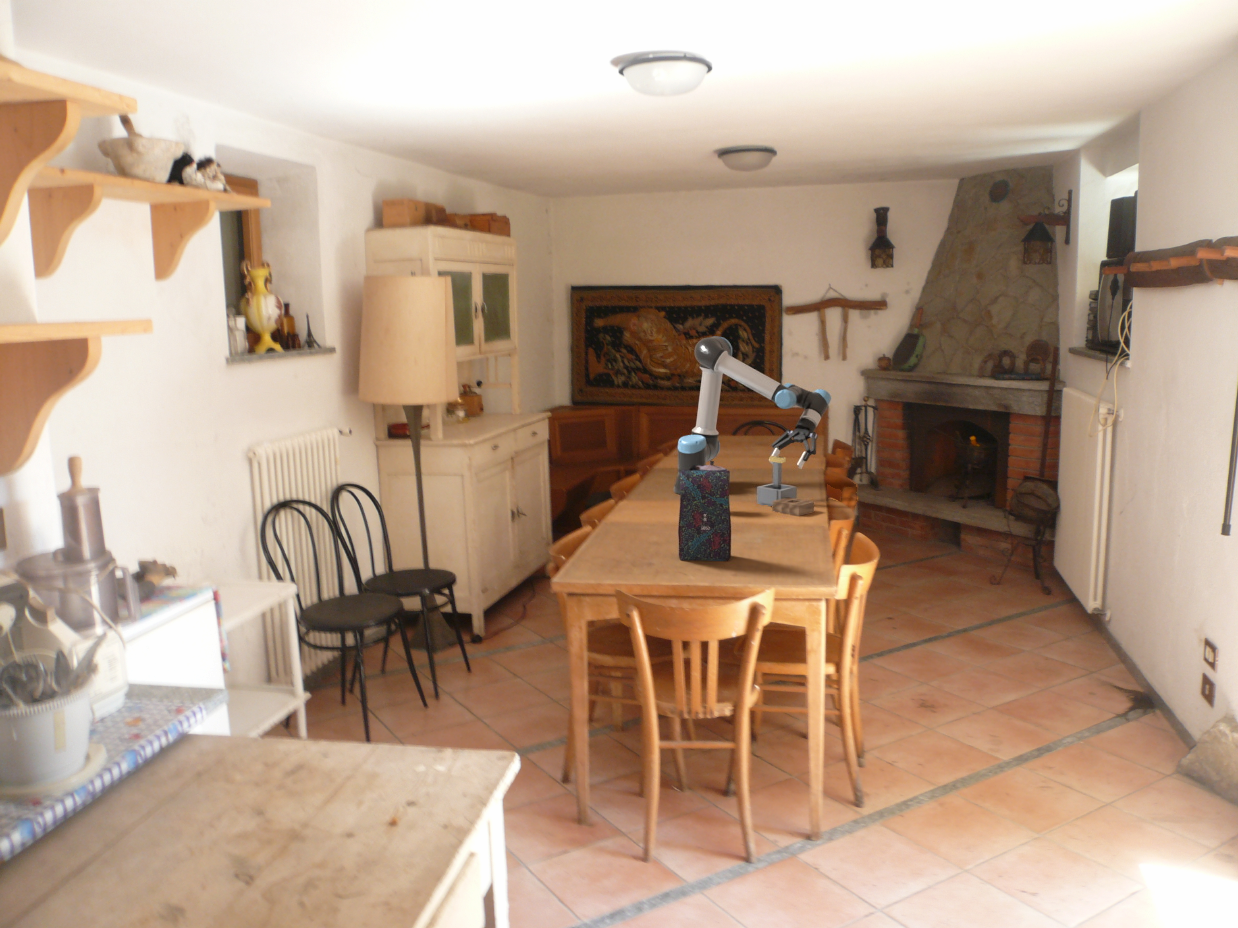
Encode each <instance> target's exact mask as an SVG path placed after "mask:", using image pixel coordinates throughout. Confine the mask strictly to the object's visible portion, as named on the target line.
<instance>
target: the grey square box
mask: <svg viewBox="0 0 1238 928" xmlns="http://www.w3.org/2000/svg"><path fill="white" fill-rule="evenodd" d="M797 489H798V487H797V486H794V485H789V484H784V483H783V484H782V483H781V489H780V490H778V489H773V482H772V483H769V484H764V485H759V486H756V502H757V505H758V504H760V506H764V505H768V506H767V507H769V506H773V501H775V500H779V499H783V498H787V497H790V498H796V499H798V497H797V496H798V495H797V494H798V492H797Z"/></svg>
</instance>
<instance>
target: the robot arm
mask: <svg viewBox="0 0 1238 928" xmlns="http://www.w3.org/2000/svg"><path fill="white" fill-rule="evenodd" d="M731 344H732V343H730V341H729V340H728V339H726V338H725V337H722V336H710V337H705V338H701V339H700V340H699V341H698V342H697V343H696V344H695V347H694V357H695V359H696V361H697V362H698V363H699V369H700V370H701V373H702V374H701V383H700V389H699V390H700V391H699V397H698V407H697V414H696V415H697V416H696V423H695V427H693V428H692V429H691V434H689V435H683V436H681V437H680V438H679V439H678V442H677V476H676V480H675V483H674V486H673V492H674V493H675V494H677V495H678V494H679V495H680V472H681V470H689V469H690V468H691V467H692V466H693V465H696V466H706V465H707V463H708V462H710V461H713V460H714V459H715V458H716V457H717V456H718V454H719V453H720V450H721V443H720V440H719V434H720V433H719V431H718V430H717V421H718V413H719V407H720V406H719V405H720V398H721V389H722V382H723V374H724V375H726V376H727V377H729V378H731V379H733V380H734V381H735V382H738V383H739V384H742V385H744V386H745V387H746V388H749V389H750V390H753V392H755V393H758V394H760V395H762V396H763V397H765V398H767V399H768V400H771V401H772V402H774V403H775V404H776V406H777V407H778V408H780V409H784V410H787V409H791V408H793V407H795V406H796V407H799V408H802V409H804V410H803V412H802V414H801V416H799V419H798V421H797V423H796V425H795V429H793V430H791V429H790V428H787V429H786V431H785V432H784V433H782V434H781V436H780V437H778V438H776V440H775V441H774V442H773V443H771V447H772V448H773V450H772V451H771V453H770V456H779V455H780V453H781V450H782V449H784V448H786V447H787V446H789V445H791V444H794V443H801V444H803V445H804V448H805V451H803V453H802V454H801V456H800V458H799V459H798V461H797V463H796V466H797V467H798V469H800V470H802V468H803V466H804V465H805V462H808V460H809V458H810V457H811V456H812V455H817V439H818V437H819V436H818V434H817V432H816V431H815V430H816V428H817V427H818V425H819V423H820V421H821V419H822V418H823V416H824V414H825V412H826V411H827V410H828V407H829V405H830V403H831V401H832V395H831V394H830V392H828V391H827V390H825V389H823V388H822V389H821V388H817V389H816V390H814V391H810V390H807V389H805V388H803V387H800V386H798V385H796V384H794V383H791V382H790V383H789V382H786V383H784V385H783V384H782V383H780V382H778V381H776V380H775V379H773V378H771V377H769V376H767V375H766V374H764V373H762V372H760V371H758V370H757V369H754V368H753V367H751V366H749V365H748V364H745V363H744V362H743V361H741V360H739V359H737V358H735V357H733V346H732V345H731ZM809 439H810V444H809V441H808V440H809ZM768 461H769V460H768ZM769 462H770V461H769ZM770 464H771V465H772V466H773V462H770ZM693 470H694V469H693Z"/></svg>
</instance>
